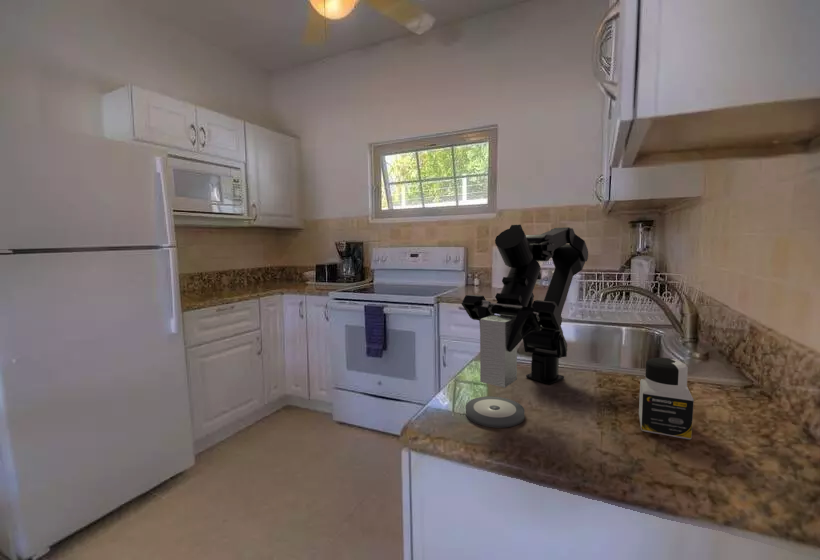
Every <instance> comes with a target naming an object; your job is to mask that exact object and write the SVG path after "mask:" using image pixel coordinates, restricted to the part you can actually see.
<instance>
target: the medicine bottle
mask: <svg viewBox="0 0 820 560" xmlns="http://www.w3.org/2000/svg"><path fill="white" fill-rule="evenodd" d="M688 371H689V367H688V365H687V364H686V363H684V362H682V361H680V360H677V359H675V358H674V359H673V358H670V357H651V358H649V359H647V360H646V361H645V378H641V379H640V381H639V399H638V400H639V401H638V404H639V406H638V418H639V424H640V430H641V431H642V432H646V433H651V434H656V435H663V436H666V437H667V436H668V437H672V438H673V437H674V438H678V439H684V440H692V435H693V421H694V419H693V418H694V404H695V403H694V402H695V400H694V397H693V396H692V393H691V392H690V389H689V387H688V373H689V372H688Z"/></svg>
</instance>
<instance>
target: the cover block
mask: <svg viewBox="0 0 820 560" xmlns="http://www.w3.org/2000/svg"><path fill="white" fill-rule="evenodd" d="M515 319H516V317H508V316H500V315H499V314H494V315H490V316H488V317H485V318H482V319H480V322H479V337H480V338H479V343H480V346H479V351H480V352H479V353H480V354H479V355H480V356H479V361H480V363H479V364H480V366H479V367H480V369H479V372H480V373H479V375H480V383H484V384H489V385H492V386H496V387H500V388H507V387H509V386H510V385H511V384H512V383H514V382H515V381H517V379H518V378H517V376H518V375H517V373H518V372H517V371H518V369H517V368H518V364H517V363H518V360H517V359H518V355H517V354H518V351H517V349H518V345H517V346H516V347H515V348H514V349H513V350H512V351H511V352H509V351H508V350H507V347H508V342H509V338H510V335H511V332H512V329H513V326H514V322H515Z"/></svg>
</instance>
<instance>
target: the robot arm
mask: <svg viewBox="0 0 820 560" xmlns="http://www.w3.org/2000/svg"><path fill="white" fill-rule="evenodd" d="M523 229H524V228H523V226H522V224H511V225H510V227H509V228H507V229H505V230H503V231H502V232H500V233H499V234H498V235H496V237H495V238H494V239H495V240H494V243H495V246H496V247H497V250H498V251H499V255H500V257H501V259H502V261H503V263H504V265H505V266H507V267H508V268H510V269H509V272H508V274H507V276H505V277H504V276H503V277H502V280H501V282H502V284H503V286H502V289H501V291H500V292H496V294H495V299H496V303H495V302H491V301H489V300H487V299H486V298H485V296H484V295H479V294H466V295H465V296H464V297H463V299H462V301H461V305H462V307H463V309H464V310H465V312H466V313H467V315H468V316H469V318H470V319H472V320H473V321H479V322H478V323H480V319H482V318H485V317H488V316H490V315H500V316H508V317H516V319H515V322H514V326H513V329H512V332H511V335H510V338H509V342H508V347H507V350H508V351H509V352H511V351H512V350H513V349H514V348H515V347H516V346H517V347H518V344H519V343H520V342H521V341H522V343H523V349H524V353H531V362H530V363H531V366H530V370H531V371H530V373H528V374H526V375H525V377H526V378H528V379H530V380H534V381H537V382H540V383H543V384H547V385H551V384H554V383H556V382H559V381H562V380H564V379H565V376H564V375H562V374H559V362H560V361H559V360H560V359H562V358H567V357H568V356H567V355H568V353H567V352H568V343H567V340H566V337H565V336H564V331H563V328H562V322H563V317H562V313H563V310H564V306H565V303H566V300H567V297H568V294H569V291H570V287H571V284H572V280H573V277H574V276H575V275H577V274H579V273H580V272H581V271H582V270H583V269H584V267H585V264H586V262H588V259H589V250H588V247H587V244H586V240H584V239H583V238H581V237H580V236H579V235H577V234H576V233H575V231H574V228H573V227H554V228H551V229H550V230H548V231H546V232H542V233H541V234H525V231H524V230H523ZM549 260H552V263H553V267H554V271H553V273H552V276H551V279H550V282H549V284H548V288H547V291H546V294H545V296H544V299H543V300H538V299H537V300H535V299H534V297H535V295H534V293H533V292H534V289H535V286H536V283H537V280H541V279H542V274H541V270H542V269H541V264H540V263H539V262H549Z"/></svg>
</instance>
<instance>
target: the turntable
mask: <svg viewBox="0 0 820 560" xmlns="http://www.w3.org/2000/svg"><path fill="white" fill-rule="evenodd" d="M465 415H466V417H467V418H468V420H469V421H471V422H473V423H475V424H477V425H480V426H483V427H488V428H496V429H499V428H500V429H502V428H506V429H507V428H512V427H516V426H519V424H522V423H523V422H524V420H525V407H524V406H523V405H522V404H520V403H519V402H518V401H515V400H513V399H511V398H508V397H507V398H506V397H501V396H491V395H490V396H489V395H488V396H480V397H475V398H472V399H470V400H469V401H468V402H467V403H466V404H465Z"/></svg>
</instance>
